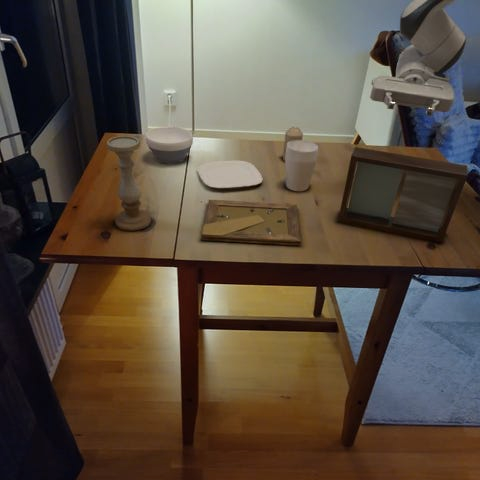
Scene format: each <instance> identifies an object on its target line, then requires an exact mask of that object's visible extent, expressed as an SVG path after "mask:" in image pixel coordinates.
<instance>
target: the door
mask: <svg viewBox="0 0 480 480" xmlns="http://www.w3.org/2000/svg"><path fill="white" fill-rule="evenodd" d="M404 171H405V170H403V169H397V168H391V167H386V166H380V165H374V164H368V163H363V162H357V165H356V169H355V174H354V179H353V183H352V188H351V193H350V197H349V202H348V207H347V208H348V211H353V212H358V213H363V214H368V215H374V216H379V217H384V218H389V219H390V216H391V217H392V214H393V213H392V212H393V210H394V205H395V202H396V198H397V196H398V191H399V188H400V185H401V181H402V178H403V175H404Z"/></svg>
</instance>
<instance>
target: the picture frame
mask: <svg viewBox="0 0 480 480" xmlns="http://www.w3.org/2000/svg"><path fill="white" fill-rule="evenodd" d="M201 240H202V241H212V242H213V241H214V242H227V243H246V244H247V243H248V244H266V245H267V244H268V245H284V246H301V242H302V239H301V230H300V221H299V211H298V204H296V203H281V202H280V203H279V202H264V201H263V202H260V201H245V200H243V201H242V200H225V199H208V201H207V207H206V213H205V218H204V223H203V228H202V233H201Z"/></svg>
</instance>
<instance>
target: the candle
mask: <svg viewBox="0 0 480 480" xmlns="http://www.w3.org/2000/svg"><path fill="white" fill-rule="evenodd" d="M303 136H304V133H303V131H302V130H301V128H299V127H295V126H291V127H290V128H288V129H287V130H286V131H285V134H284V143H283V152H282V160H283V161H284V162H285V153H286V148H287V143H288V142H290V141H294V140H303Z"/></svg>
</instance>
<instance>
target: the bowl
mask: <svg viewBox="0 0 480 480" xmlns="http://www.w3.org/2000/svg"><path fill="white" fill-rule="evenodd" d="M145 142H146V145H147V147H148V149H149V151H151V153H152V155H153V156H154V157H155V158H156V161H158V162H160V163H163V164H167V165H170V164H173V165H174V164H179V163H181V162H183V161H184V160H185V158H186V156H187V155H188V154H189V152H190V150H191V148H192V146H193V144H194V136H193V133H192V131H190V130H189V129H186V128H183V127H178V126H159V127H154V128H152V129H149V130H148V131H147V132H146V133H145Z"/></svg>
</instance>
